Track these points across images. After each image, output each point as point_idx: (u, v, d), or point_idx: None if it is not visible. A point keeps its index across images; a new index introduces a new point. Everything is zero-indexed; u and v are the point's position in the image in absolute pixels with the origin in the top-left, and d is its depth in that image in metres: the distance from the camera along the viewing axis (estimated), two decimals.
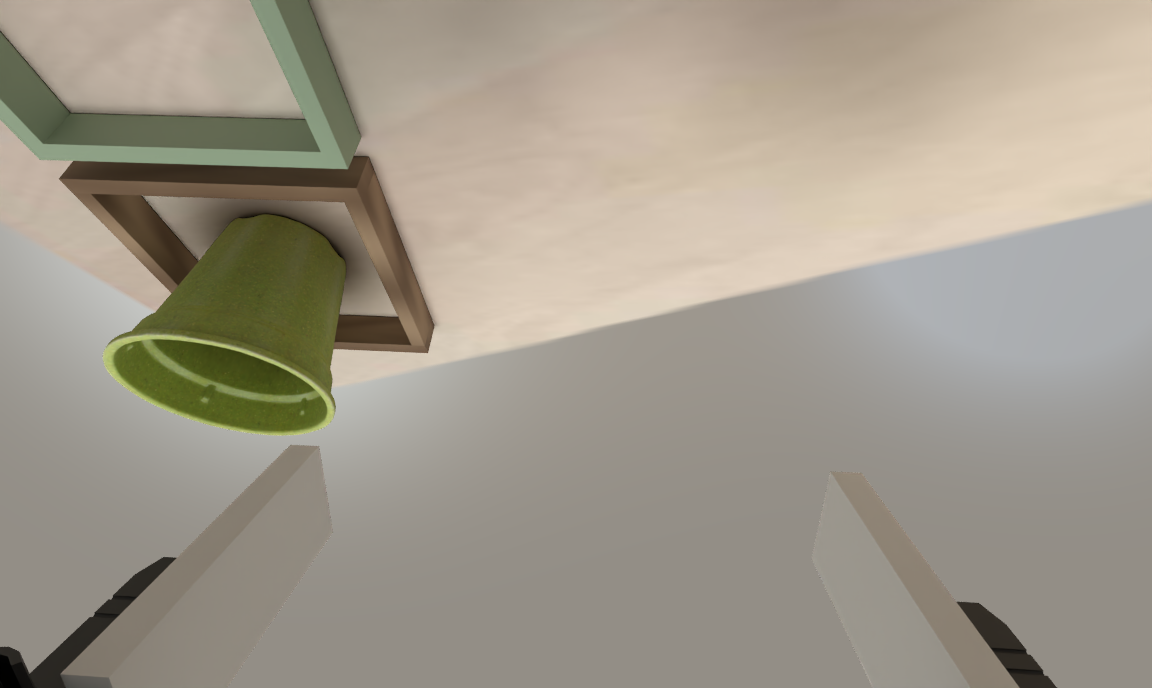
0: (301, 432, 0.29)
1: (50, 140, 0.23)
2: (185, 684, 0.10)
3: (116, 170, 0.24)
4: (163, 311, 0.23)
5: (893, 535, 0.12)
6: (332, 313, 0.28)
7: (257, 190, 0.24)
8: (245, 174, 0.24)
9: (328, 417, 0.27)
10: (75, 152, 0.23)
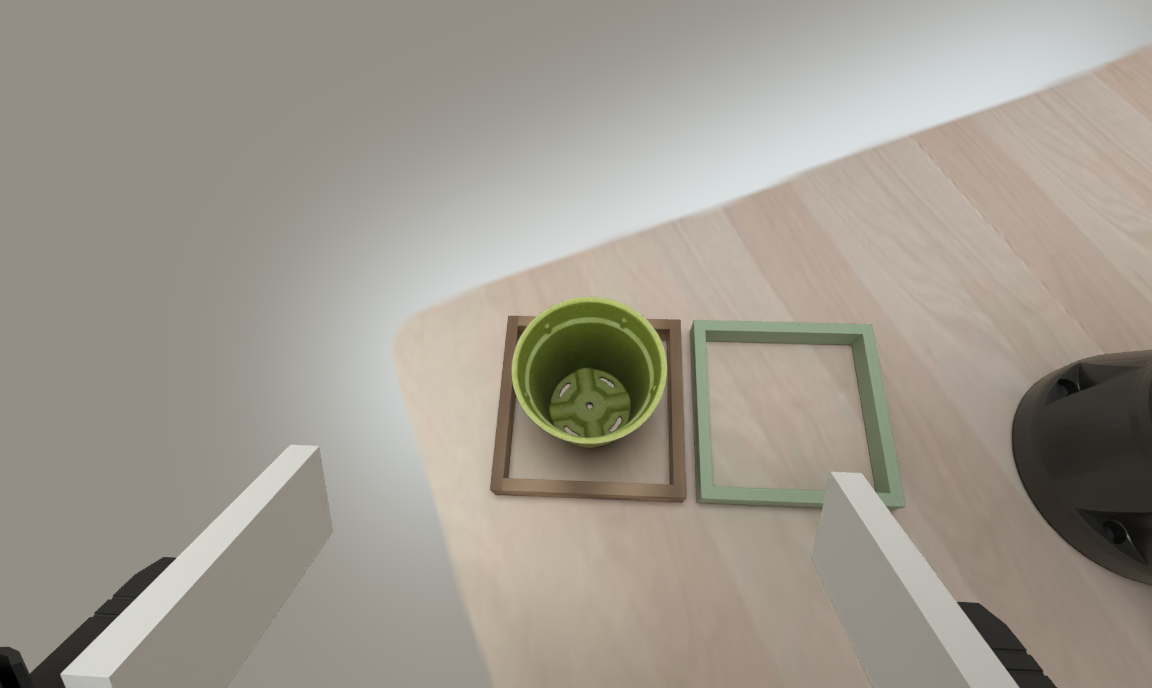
0: (517, 391, 0.33)
1: (704, 333, 0.42)
2: (185, 684, 0.10)
3: None
4: (652, 359, 0.36)
5: (893, 535, 0.12)
6: None
7: (679, 431, 0.39)
8: None
9: (549, 428, 0.32)
10: (700, 342, 0.41)
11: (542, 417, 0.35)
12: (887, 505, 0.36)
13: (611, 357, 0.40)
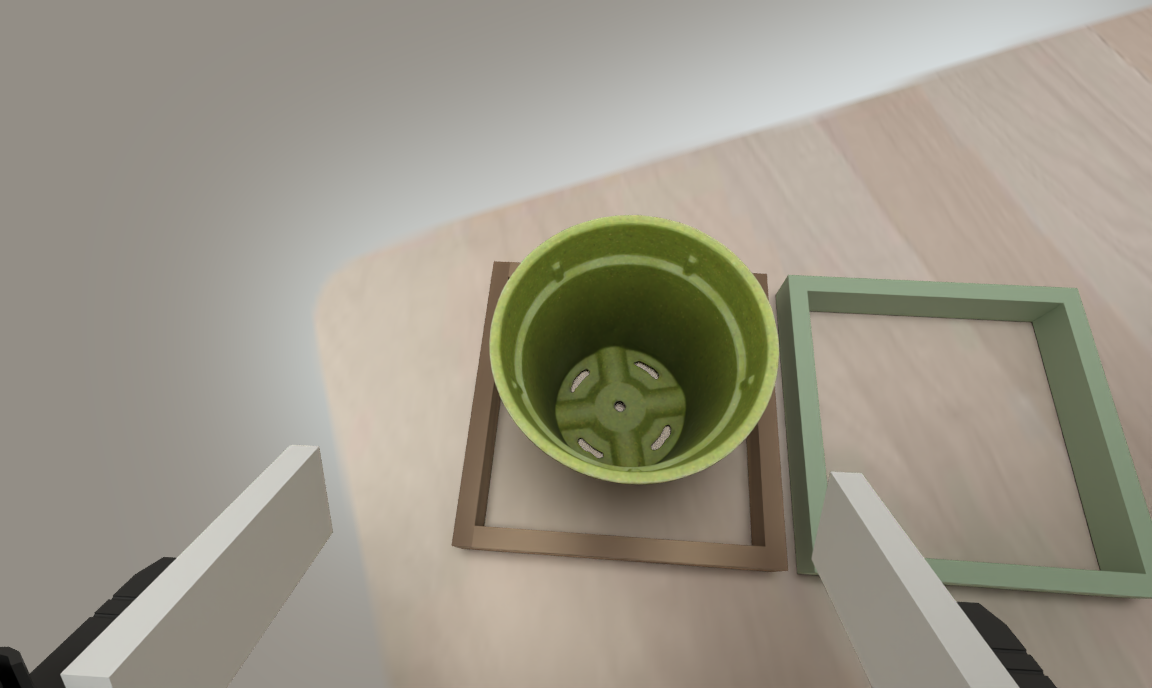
0: (499, 378, 0.18)
1: (805, 296, 0.26)
2: (185, 684, 0.10)
3: None
4: None
5: (893, 535, 0.12)
6: None
7: (772, 454, 0.23)
8: None
9: (556, 451, 0.17)
10: (800, 310, 0.26)
11: (544, 427, 0.19)
12: (1142, 595, 0.21)
13: (658, 329, 0.25)
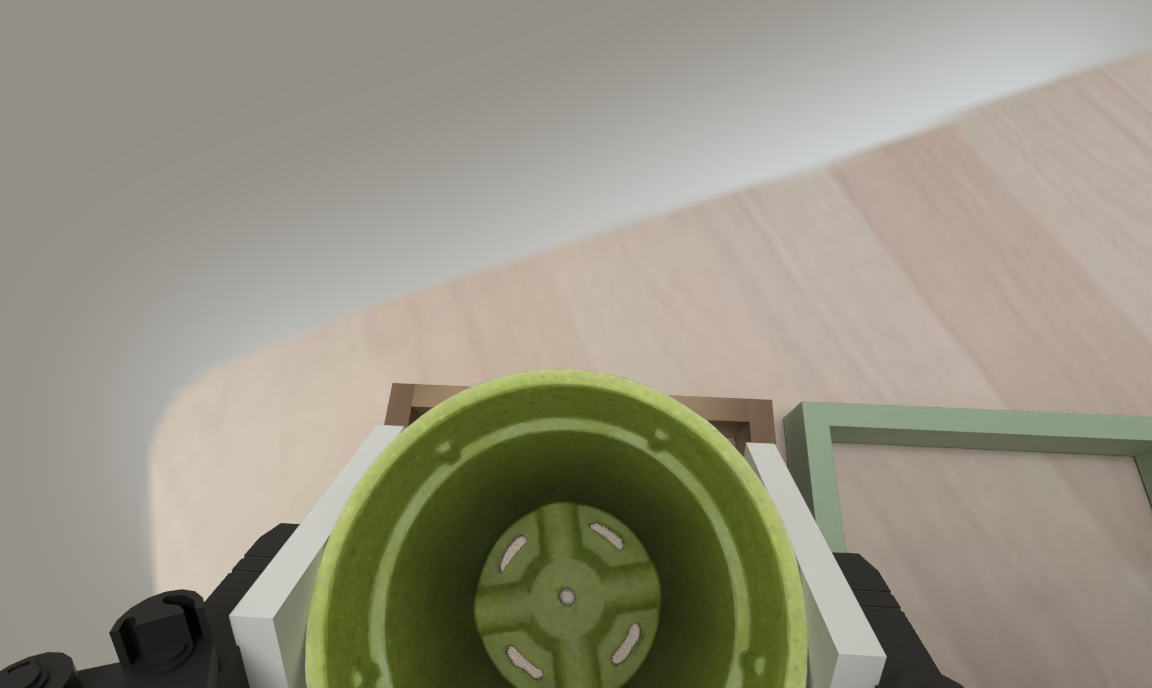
0: None
1: (826, 432, 0.19)
2: None
3: None
4: (741, 551, 0.12)
5: (789, 495, 0.13)
6: None
7: None
8: None
9: None
10: (820, 456, 0.18)
11: None
12: None
13: (619, 495, 0.17)
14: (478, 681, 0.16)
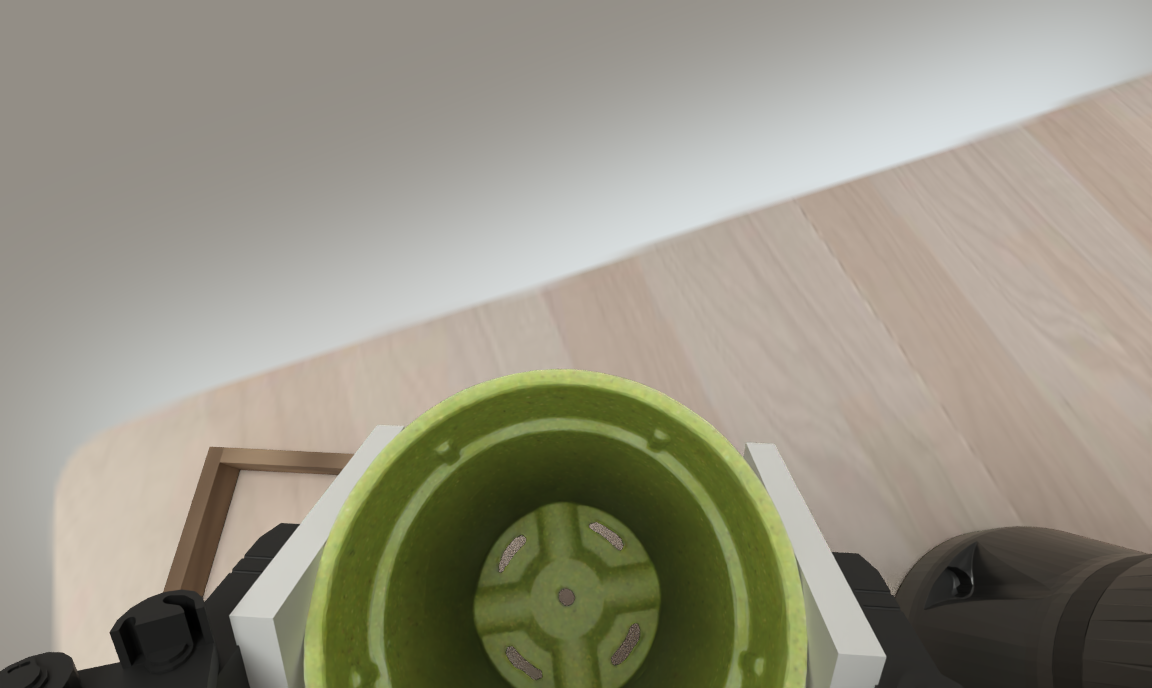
0: None
1: None
2: None
3: None
4: (740, 551, 0.12)
5: (789, 495, 0.13)
6: None
7: None
8: None
9: None
10: None
11: None
12: None
13: (619, 495, 0.17)
14: (477, 681, 0.16)
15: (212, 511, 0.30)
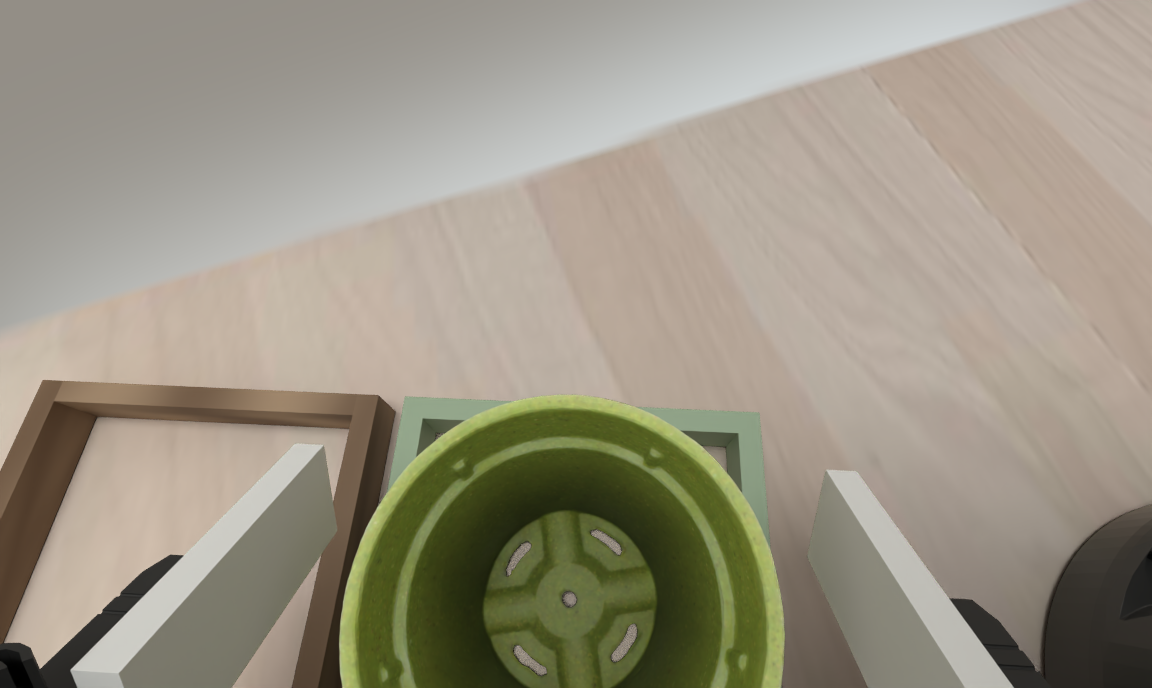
0: (350, 687, 0.11)
1: (423, 424, 0.21)
2: (193, 681, 0.10)
3: (372, 458, 0.21)
4: None
5: (887, 533, 0.12)
6: None
7: (314, 657, 0.17)
8: (337, 635, 0.18)
9: None
10: (406, 446, 0.20)
11: None
12: None
13: (617, 504, 0.18)
14: (488, 677, 0.17)
15: (41, 471, 0.21)
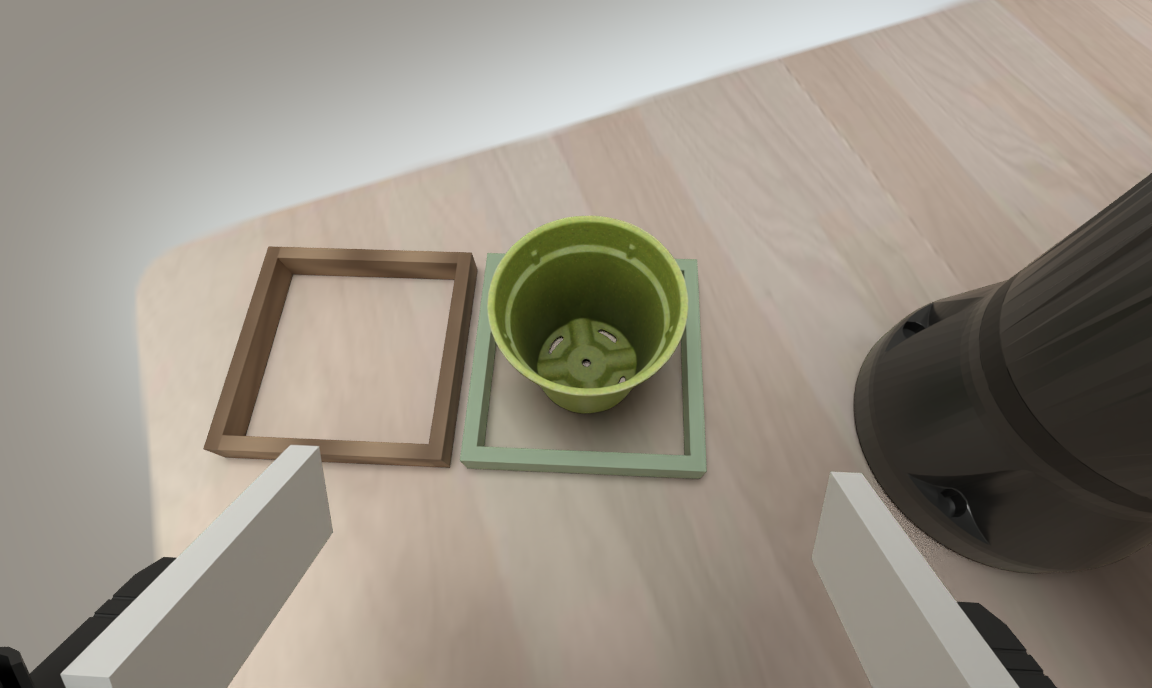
0: (494, 329, 0.26)
1: None
2: (185, 684, 0.10)
3: (469, 288, 0.35)
4: None
5: (893, 535, 0.12)
6: (580, 401, 0.29)
7: (447, 381, 0.32)
8: (456, 375, 0.33)
9: (535, 376, 0.25)
10: (490, 279, 0.34)
11: (526, 366, 0.27)
12: (685, 470, 0.30)
13: (614, 302, 0.33)
14: (543, 387, 0.31)
15: (272, 297, 0.35)
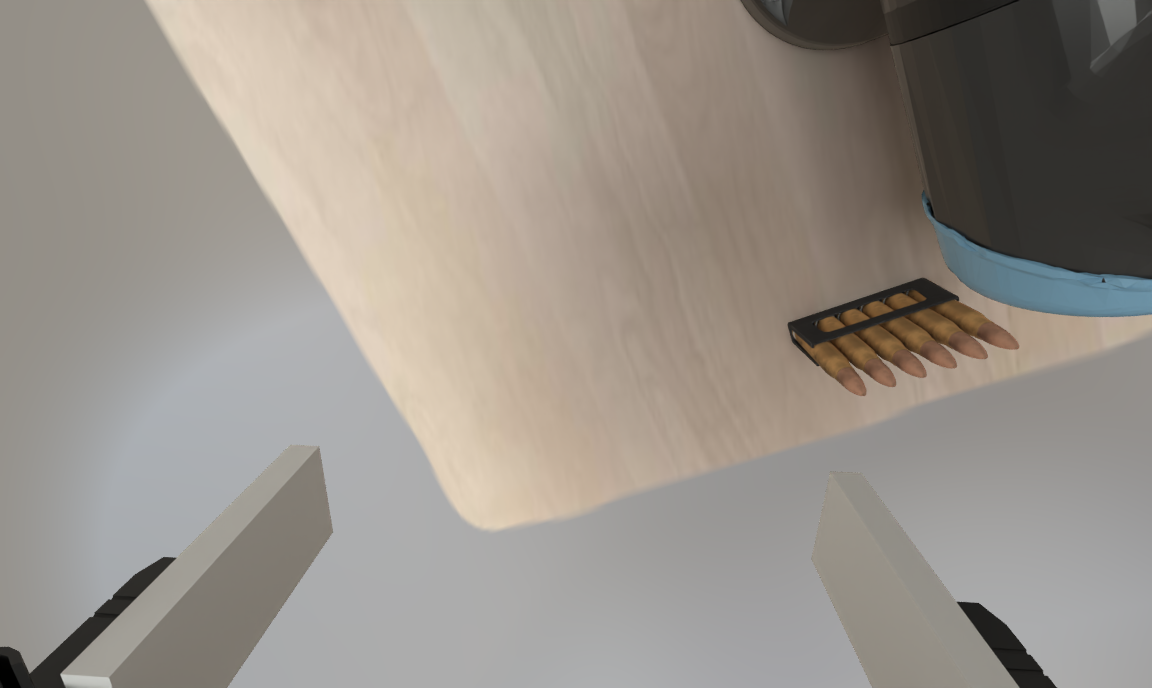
0: None
1: None
2: (185, 684, 0.10)
3: None
4: None
5: (893, 535, 0.12)
6: None
7: None
8: None
9: None
10: None
11: None
12: None
13: None
14: None
15: None
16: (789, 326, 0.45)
